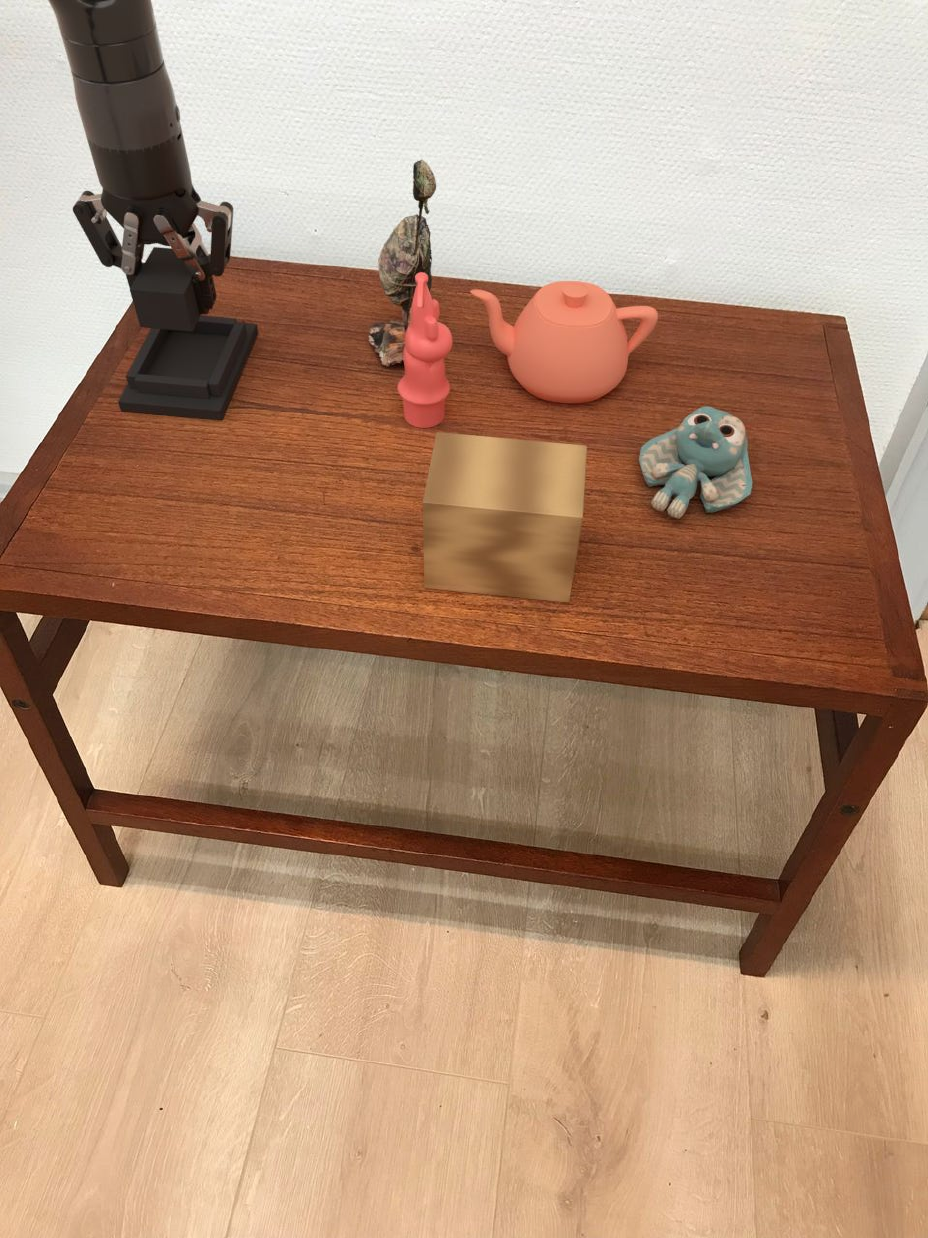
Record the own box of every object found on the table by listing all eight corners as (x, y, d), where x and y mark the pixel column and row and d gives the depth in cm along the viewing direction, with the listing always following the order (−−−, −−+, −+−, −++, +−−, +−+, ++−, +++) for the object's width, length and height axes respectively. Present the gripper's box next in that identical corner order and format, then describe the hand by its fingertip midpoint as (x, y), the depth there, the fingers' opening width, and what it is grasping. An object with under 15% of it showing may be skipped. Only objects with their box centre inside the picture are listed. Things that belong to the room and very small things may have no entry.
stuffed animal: (612, 456, 83) (678, 364, 87) (608, 506, 89) (671, 417, 94) (728, 508, 79) (791, 409, 84) (716, 556, 86) (776, 462, 90)
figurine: (451, 433, 93) (452, 294, 81) (396, 432, 93) (390, 292, 81) (452, 399, 96) (454, 259, 84) (400, 397, 96) (394, 258, 84)
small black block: (192, 331, 90) (183, 293, 87) (140, 327, 90) (129, 289, 87) (213, 288, 94) (205, 250, 91) (163, 284, 95) (153, 246, 91)
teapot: (650, 413, 95) (668, 330, 88) (465, 405, 95) (467, 322, 88) (642, 338, 102) (657, 255, 95) (470, 331, 103) (472, 248, 95)
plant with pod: (451, 310, 105) (452, 120, 89) (440, 376, 98) (439, 182, 82) (376, 305, 105) (364, 115, 90) (359, 370, 98) (344, 176, 83)
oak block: (424, 588, 81) (422, 502, 73) (437, 519, 86) (436, 431, 78) (569, 603, 80) (583, 517, 72) (573, 532, 85) (587, 445, 77)
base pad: (222, 420, 93) (217, 398, 91) (120, 411, 94) (113, 388, 92) (258, 333, 102) (254, 310, 100) (165, 325, 103) (159, 302, 100)
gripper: (28, 139, 77) (89, 324, 90) (206, 152, 76) (241, 337, 89) (63, 96, 82) (116, 278, 95) (231, 108, 81) (261, 290, 94)
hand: (177, 306), depth 92 cm, fingers closed on small black block, 5 cm apart
